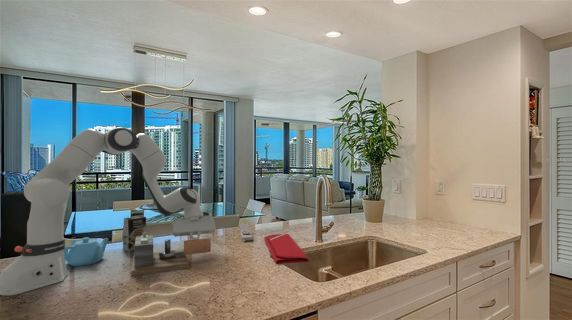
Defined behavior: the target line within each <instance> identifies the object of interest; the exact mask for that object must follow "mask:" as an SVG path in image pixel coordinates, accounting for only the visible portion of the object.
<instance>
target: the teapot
mask: <svg viewBox="0 0 572 320" xmlns="http://www.w3.org/2000/svg"><path fill="white" fill-rule="evenodd" d="M108 241H109V238H107V237H105V238H103V239H102V241H101V242H99V241H97V239H90V237H88V236H87V237H82V238H81V240H76V239H73V240H70V242H71V243H70V244H71V245H65V250H64V258H65V262H66V264H69V265H70V266H72V267H81V266H83V267H84V266H90V265H93V264H96V263H99V262H100V261H101V260H102V259H103V258H104V255H105V254H104V253H105V250H106V247H107V245H108V244H107V243H108Z"/></svg>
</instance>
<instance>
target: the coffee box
mask: <svg viewBox="0 0 572 320" xmlns="http://www.w3.org/2000/svg"><path fill="white" fill-rule="evenodd" d="M122 232H123V233H122V235H123V237H122V250H124V251H127V252H132V251H135V240H136V237H138V236H142V234H143V233H144V232H146V233H147V217H146V216H142V215H139V216H137V215H136V216H131V217H124V218H123V231H122Z"/></svg>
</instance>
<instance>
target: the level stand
mask: <svg viewBox="0 0 572 320" xmlns="http://www.w3.org/2000/svg"><path fill="white" fill-rule="evenodd" d="M174 251H176V252H179V251H184V248H183V249H182V248H181V249H174ZM159 252H160V251H155V252H154V235H152V234H151V235H148V234H147V231H146V232H144V233H143V234H142V236H138V237H136V240H135V250H134V254H133V255H132V256H133V258H132V264H131V270H130V275H131V276H132V277H133V276H140V275H141V276H142V275H148V274H154V273H162V272H170V271H176V270H184V269H189V268H190V262H189V259H188V255H183V256H175V257H173V258H169V259H161V258H159Z"/></svg>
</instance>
